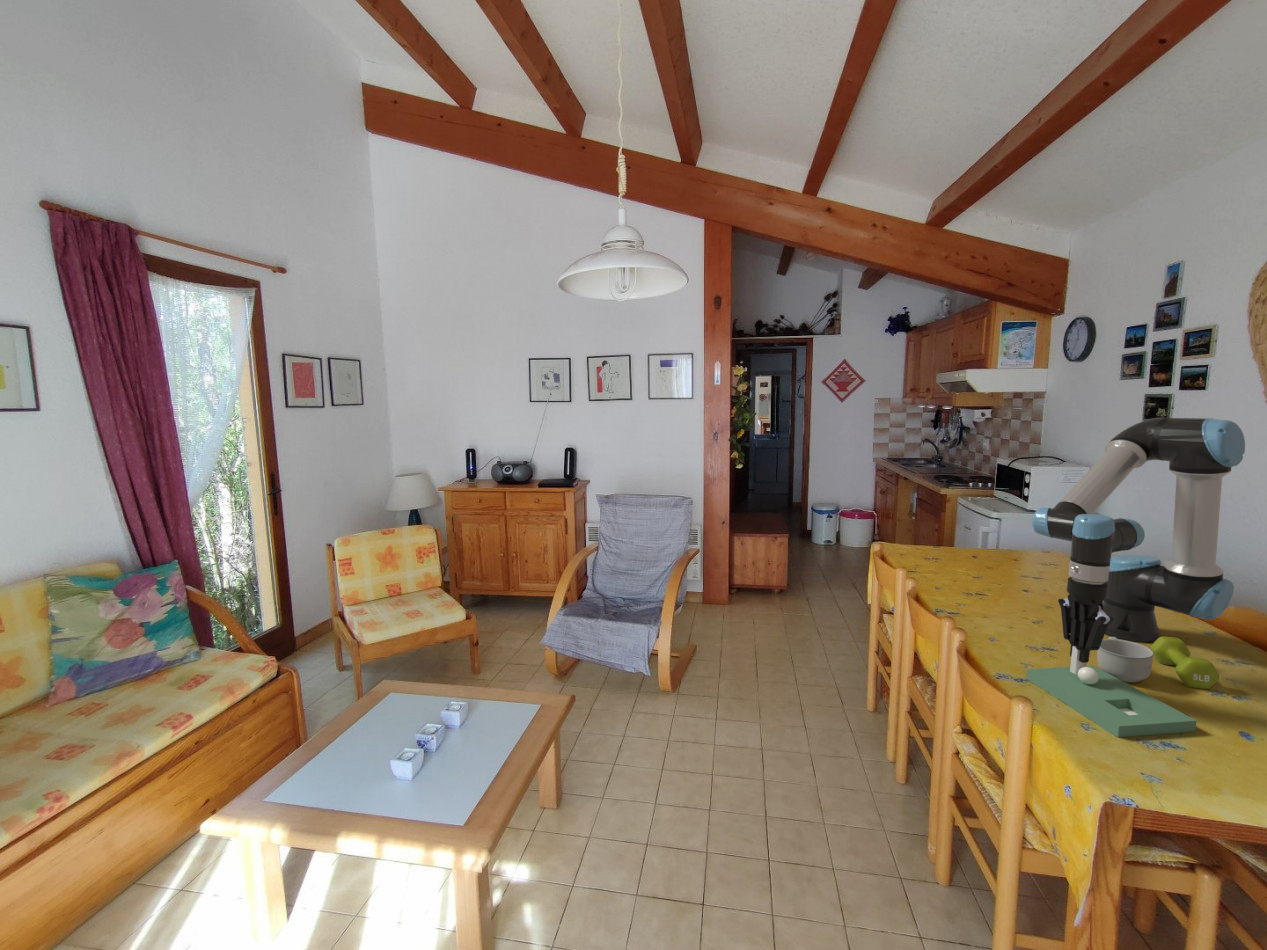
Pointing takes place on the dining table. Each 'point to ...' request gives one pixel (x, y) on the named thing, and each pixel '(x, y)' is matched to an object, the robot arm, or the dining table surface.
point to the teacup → (1125, 659)
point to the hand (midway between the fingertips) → (1077, 672)
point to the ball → (1088, 675)
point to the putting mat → (1112, 703)
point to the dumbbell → (1185, 663)
